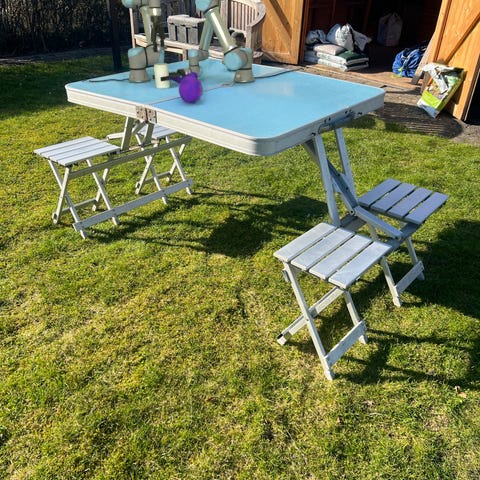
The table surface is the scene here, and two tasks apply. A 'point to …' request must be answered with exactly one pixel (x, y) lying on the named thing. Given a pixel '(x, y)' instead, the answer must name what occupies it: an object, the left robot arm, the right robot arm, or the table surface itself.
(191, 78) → the toy
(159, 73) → the jar
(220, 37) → the right robot arm
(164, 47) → the lid
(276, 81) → the table surface
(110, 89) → the table surface
